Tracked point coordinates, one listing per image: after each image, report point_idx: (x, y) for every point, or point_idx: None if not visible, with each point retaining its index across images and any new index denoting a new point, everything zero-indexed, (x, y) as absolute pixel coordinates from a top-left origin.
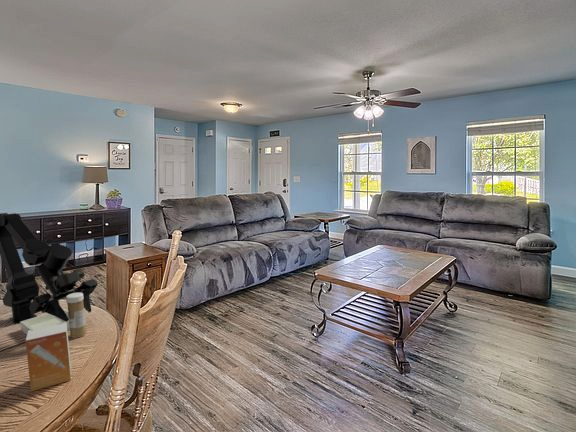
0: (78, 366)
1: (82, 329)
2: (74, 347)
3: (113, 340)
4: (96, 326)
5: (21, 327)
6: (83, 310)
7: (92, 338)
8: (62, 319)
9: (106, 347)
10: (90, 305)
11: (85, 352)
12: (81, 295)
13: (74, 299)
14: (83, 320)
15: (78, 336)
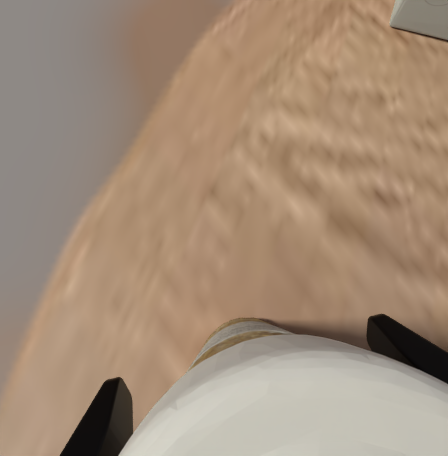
0: (359, 20)
1: (235, 323)
2: (318, 212)
3: (150, 124)
4: None
5: None
6: (199, 356)
7: (209, 241)
8: None
9: (208, 82)
10: (68, 441)
11: (296, 113)
12: (174, 410)
13: (389, 358)
14: (219, 332)
15: (262, 321)
